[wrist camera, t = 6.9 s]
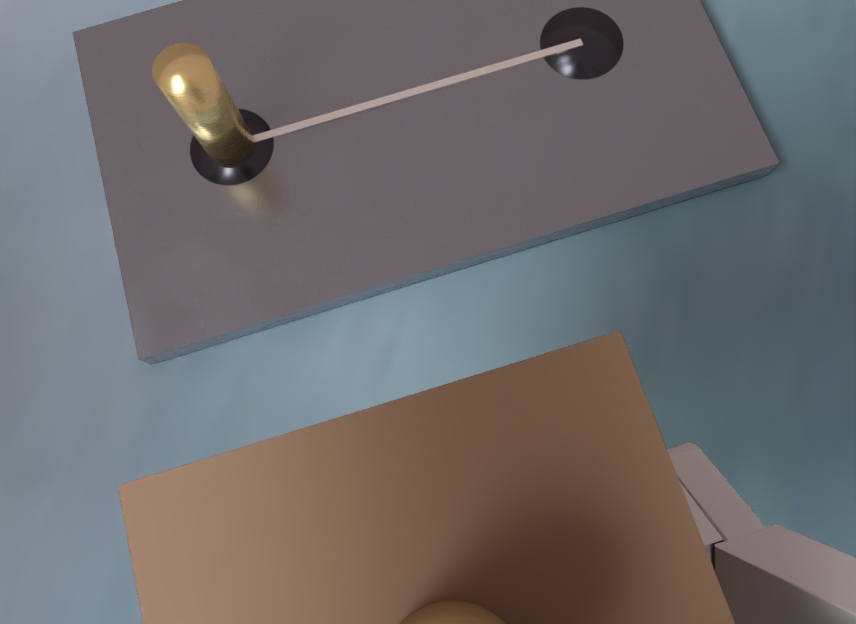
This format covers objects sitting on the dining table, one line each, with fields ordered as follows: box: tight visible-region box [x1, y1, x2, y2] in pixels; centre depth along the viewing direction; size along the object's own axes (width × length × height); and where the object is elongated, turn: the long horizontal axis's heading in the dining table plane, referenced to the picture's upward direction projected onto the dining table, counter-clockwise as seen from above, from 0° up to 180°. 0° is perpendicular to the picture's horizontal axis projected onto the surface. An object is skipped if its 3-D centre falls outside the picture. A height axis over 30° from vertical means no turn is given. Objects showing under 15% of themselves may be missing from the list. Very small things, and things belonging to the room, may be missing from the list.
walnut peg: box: [118, 331, 735, 624], centre depth 9 cm, size 4×4×10 cm
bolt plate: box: [73, 0, 779, 364], centre depth 24 cm, size 24×14×6 cm, turn 107°
